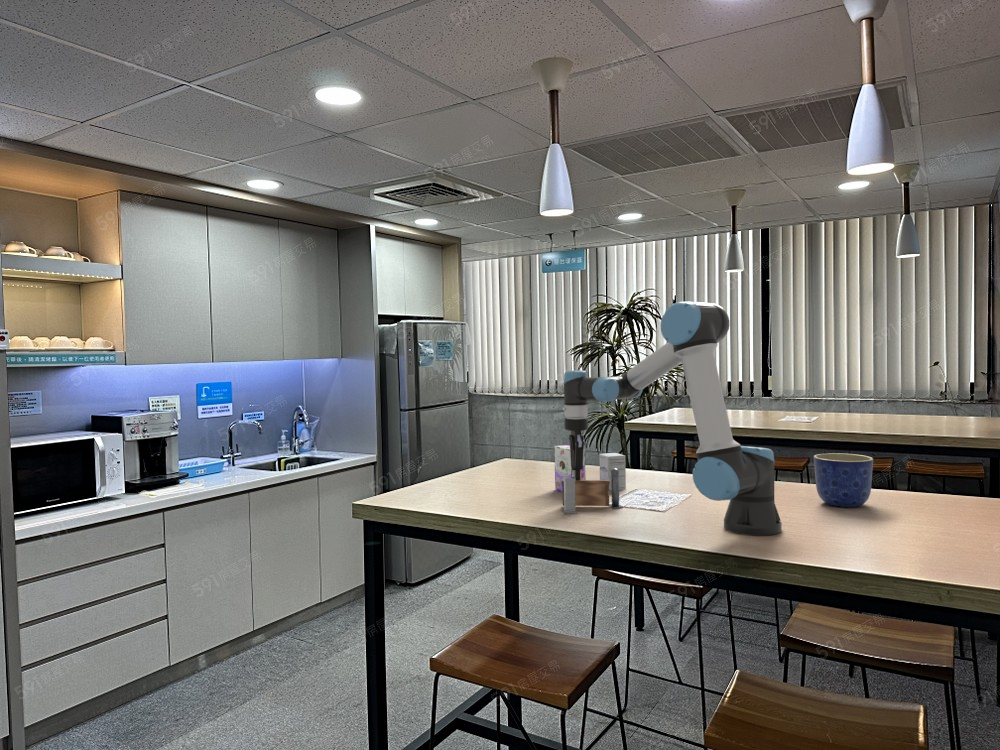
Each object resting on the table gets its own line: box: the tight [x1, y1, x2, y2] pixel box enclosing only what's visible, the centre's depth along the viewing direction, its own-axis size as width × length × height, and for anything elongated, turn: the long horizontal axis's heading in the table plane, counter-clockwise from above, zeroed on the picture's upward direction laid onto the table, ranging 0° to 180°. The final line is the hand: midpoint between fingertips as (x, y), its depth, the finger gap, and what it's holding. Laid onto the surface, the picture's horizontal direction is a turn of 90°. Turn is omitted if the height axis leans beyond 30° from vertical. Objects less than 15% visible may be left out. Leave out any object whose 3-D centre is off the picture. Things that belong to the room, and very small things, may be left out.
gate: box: [562, 479, 610, 507], centre depth 220 cm, size 15×2×8 cm, turn 83°
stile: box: [561, 477, 579, 515], centre depth 213 cm, size 4×4×11 cm
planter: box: [813, 452, 874, 508], centre depth 216 cm, size 17×17×15 cm
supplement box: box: [599, 452, 627, 492], centre depth 250 cm, size 7×7×13 cm
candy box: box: [553, 444, 587, 493], centre depth 245 cm, size 14×6×16 cm, turn 22°
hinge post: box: [608, 468, 624, 510], centre depth 219 cm, size 4×4×13 cm
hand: (577, 489), depth 222 cm, fingers closed
